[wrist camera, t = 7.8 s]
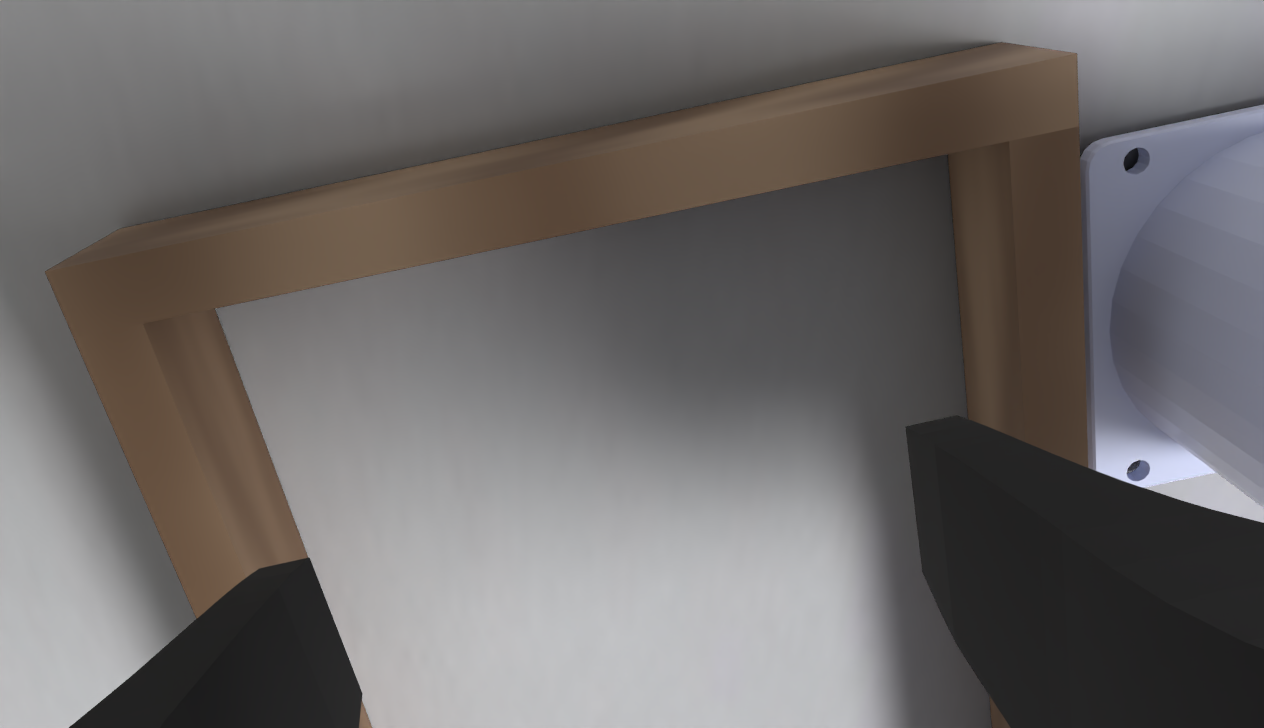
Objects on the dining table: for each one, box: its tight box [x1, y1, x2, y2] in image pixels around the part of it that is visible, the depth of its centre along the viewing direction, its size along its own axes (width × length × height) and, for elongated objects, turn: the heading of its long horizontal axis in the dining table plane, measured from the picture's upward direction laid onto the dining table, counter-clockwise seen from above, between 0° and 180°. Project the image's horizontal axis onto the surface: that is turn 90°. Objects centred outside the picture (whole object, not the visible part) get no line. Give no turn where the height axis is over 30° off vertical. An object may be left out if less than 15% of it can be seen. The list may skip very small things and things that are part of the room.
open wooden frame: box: [45, 42, 1088, 728], centre depth 21 cm, size 17×18×3 cm
